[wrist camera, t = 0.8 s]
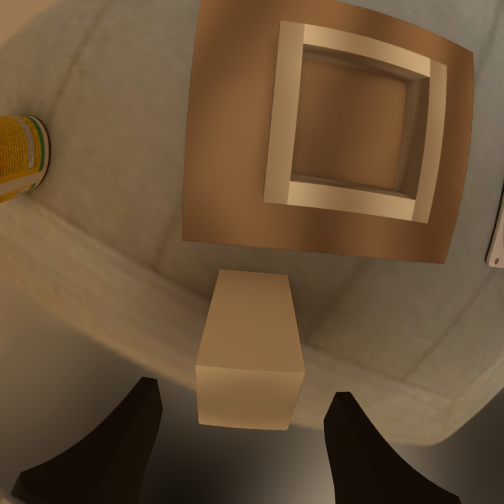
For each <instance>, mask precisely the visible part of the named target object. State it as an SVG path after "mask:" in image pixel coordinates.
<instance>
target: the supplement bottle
mask: <svg viewBox="0 0 504 504" xmlns="http://www.w3.org/2000/svg"><path fill="white" fill-rule="evenodd" d="M48 160H49V142H48V137H47V133H46V131H45V128H44V127H43V125H42V124H41V123H40V121H38V120H37V119H36V118H35V117H32V116H28V115H18V116H2V117H0V203H2V202H5V201H7V200H10V199H12V198H15V197H17V196H19V195H22V194H24V193H27V192H29V191H31V190H33V189H34V188H35V187H37V185H38V184H39V183H40V182H41V180H42V179H43V177H44V174H45V172H46V169H47V165H48Z"/></svg>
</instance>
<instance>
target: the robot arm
mask: <svg viewBox="0 0 504 504" xmlns="http://www.w3.org/2000/svg"><path fill="white" fill-rule="evenodd" d="M486 263H487V265H489V266H490V267H498V268H504V194H503V199H502V203H501V208H500V212H499V217H498V221H497V225H496V228H495V232H494V236H493V239H492V243H491V246H490V250H489V253H488V256H487V260H486ZM162 411H163V407H162V402H161V397H160V393H159V388H158V382H157V379H153V378H147V377H142V378H141V379H140V380H139V381H138V382H137V384H136V385H135V386H134V387H133V389H132V390H131V391H130V392H129V393H128V395H127V396H126V397H125V398H124V399H123V400H122V401H121V403H120V404H119V405H118V406H117V407H116V408H115V409H114V410H113V411H112V412H111V414H110V415H108V416H107V417H106V419H104V421H102V422H101V423H100V424H99V425H98V426H97V427H96V428H95V429H94V430H93V431H92V432H90V433H89V434H88V435H87V436H85V437H84V438H83V439H82V440H80V441H79V442H78V443H76V444H75V445H73V446H72V447H70V448H69V449H68V450H66V451H64V452H63V453H61V454H59V455H57V456H56V457H54V458H52V459H50V460H48V461H47V462H45V463H43V464H40V465H38V466H35V467H33V468H31V469H28V470H26V471H23V472H21V473H20V475H19V476H18V478H17V481H16V483H15V485H14V487H13V490H12V492H11V496H12V497H13V498H14V499H15V500H17V501H18V502H19V503H21V504H139V499H140V493H141V487H142V482H143V477H144V473H145V470H146V467H147V464H148V460H149V457H150V455H151V452H152V448H153V445H154V442H155V439H156V436H157V433H158V430H159V426H160V421H161V416H162ZM324 433H325V443H326V448H327V453H328V458H329V463H330V467H331V472H332V477H333V482H334V489H335V503H336V504H461V501H460V499H459V497H458V496H456V495H454V494H452V493H450V492H448V491H446V490H444V489H442V488H441V487H439V486H437V485H436V484H434V483H433V482H431V481H429V480H428V479H427V478H425V477H424V476H423V475H421V474H420V473H419V472H417V471H416V470H415V469H413V468H412V467H411V466H410V465H409V464H408V463H407V462H406V461H405V460H403V459H402V458H401V457H400V456H399V455H398V454H397V453H396V452H395V451H394V449H393V448H392V447H391V446H390V445H389V444H388V443H387V442H386V440H385V439H384V438H383V437H382V436H381V434H380V433H379V432H378V430H377V429H376V428H375V426H374V425H373V424H372V423H371V421H370V420H369V418H368V417H367V416H366V414H365V413H364V411H363V410H362V408H361V407H360V406H359V404H358V403H357V401H356V400H355V398H354V397H353V395H352V394H351V393H350V392H336V394H335V396H334V398H333V400H332V403H331V405H330V407H329V409H328V412H327V414H326V416H325V418H324ZM1 504H12V503H10V502H9V501H7V500H5V499H3V500H2V502H1Z"/></svg>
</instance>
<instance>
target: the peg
mask: <svg viewBox="0 0 504 504" xmlns="http://www.w3.org/2000/svg"><path fill="white" fill-rule="evenodd" d="M195 368H196V387H197V403H198V416H199V424H206V425H214V426H224V427H236V428H251V429H271V430H287V428H288V426H289V423H290V420H291V417H292V414H293V411H294V408H295V405H296V401H297V398H298V395H299V392H300V389H301V385H302V382H303V379H304V375H305V368H304V362H303V357H302V351H301V345H300V339H299V334H298V328H297V322H296V317H295V311H294V306H293V301H292V295H291V290H290V285H289V279H288V275H284V274H272V273H260V272H249V271H237V270H226V269H220V270H219V274H218V278H217V282H216V285H215V289H214V293H213V297H212V301H211V304H210V308H209V312H208V316H207V320H206V324H205V328H204V332H203V336H202V340H201V344H200V348H199V352H198V356H197V360H196V364H195Z"/></svg>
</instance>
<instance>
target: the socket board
mask: <svg viewBox="0 0 504 504" xmlns="http://www.w3.org/2000/svg"><path fill="white" fill-rule="evenodd" d="M473 97H474V64H473V53H472V52H471V51H469V50H467V49H465V48H463V47H461V46H459V45H457V44H455V43H453V42H451V41H449V40H447V39H445V38H443V37H441V36H439V35H437V34H435V33H432V32H430V31H428V30H425V29H423V28H421V27H418V26H416V25H413V24H411V23H408V22H405V21H403V20H400V19H397V18H394V17H391V16H388V15H385V14H382V13H379V12H376V11H373V10H369V9H366V8H362V7H359V6H355V5H351V4H347V3H343V2H338V1H334V0H201V4H200V10H199V17H198V24H197V30H196V38H195V45H194V53H193V62H192V70H191V80H190V90H189V101H188V113H187V126H186V141H185V160H184V183H183V229H182V240H183V241H195V242H207V243H218V244H230V245H241V246H253V247H264V248H275V249H286V250H298V251H309V252H320V253H331V254H341V255H352V256H363V257H374V258H384V259H395V260H405V261H416V262H426V263H436V264H444V263H445V259H446V256H447V253H448V249H449V246H450V242H451V239H452V235H453V231H454V228H455V224H456V220H457V215H458V211H459V207H460V202H461V197H462V192H463V187H464V182H465V176H466V170H467V163H468V156H469V148H470V140H471V130H472V117H473Z"/></svg>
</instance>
